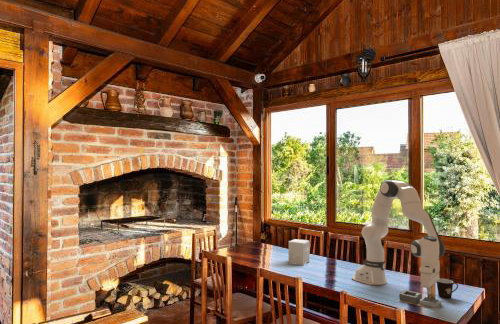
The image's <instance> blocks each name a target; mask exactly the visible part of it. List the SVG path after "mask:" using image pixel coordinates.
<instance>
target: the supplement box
mask: <svg viewBox="0 0 500 324" xmlns="http://www.w3.org/2000/svg"><path fill="white" fill-rule="evenodd" d="M307 262H309V263H310V240H307V239H298V238H297V239H296V238H294V239H292V240H288V264H290V263H296V264H295V265H297V264H303V265H302V266H305V265H306V264H305V263H307ZM304 264H305V265H304ZM307 264H308V263H307Z"/></svg>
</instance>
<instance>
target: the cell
mask: <svg viewBox="0 0 500 324" xmlns="http://www.w3.org/2000/svg"><path fill="white" fill-rule="evenodd" d="M431 290H432V293H431V294H428V293H427V296H426V297H427V299H428V300H436V299H437V296H436V293H437V291H436V283H435V284H434V285H432V286H431Z"/></svg>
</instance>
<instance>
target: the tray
mask: <svg viewBox="0 0 500 324" xmlns="http://www.w3.org/2000/svg"><path fill="white" fill-rule="evenodd" d="M419 301H420V305H422V306H426V307H430V308H434V309H433V310H435V309H437V308H438V309H439V308H440V307H441V306H442V305H441V304H442V299H437V298H436V300H428V299H427V296H423V297H422V299H421V300H419ZM422 306H421V307H422ZM426 307H425V308H426ZM430 308H429V309H430ZM438 309H437V310H438Z"/></svg>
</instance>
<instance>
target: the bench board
mask: <svg viewBox="0 0 500 324" xmlns="http://www.w3.org/2000/svg"><path fill="white" fill-rule="evenodd" d="M397 301H398V302H402V303H406V304H410V305H411V304H412V305H414V306H418V307H424V308H427V309H432V310H435V311H437V310H438V309H439V308H437V309H434V308H430V307H426V306H422V305H420V302H418V303H417V304H413V303H409V302H405V301H401V300H399V299H398V300H397ZM441 306H443V303H441Z"/></svg>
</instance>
